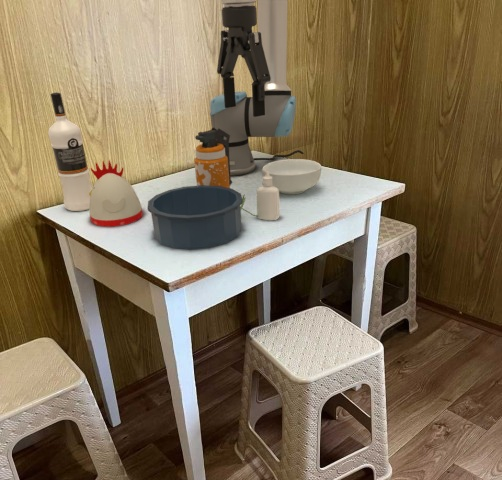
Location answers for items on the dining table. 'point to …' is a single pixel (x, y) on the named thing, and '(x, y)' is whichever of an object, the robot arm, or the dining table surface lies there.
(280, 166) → the cereal bowl
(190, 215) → the basin
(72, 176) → the vodka
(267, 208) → the eye dropper bottle
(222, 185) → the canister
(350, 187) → the dining table surface
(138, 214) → the kitchen timer
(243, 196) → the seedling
